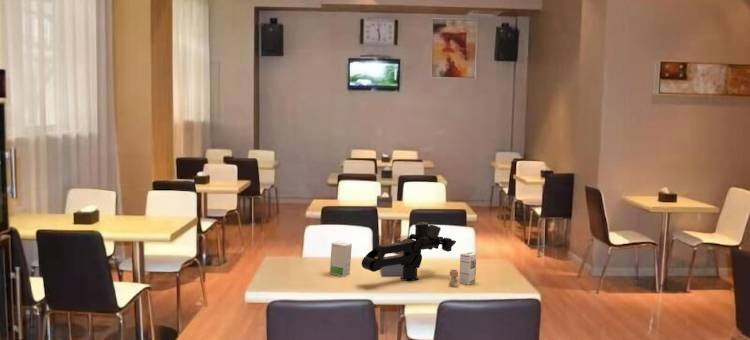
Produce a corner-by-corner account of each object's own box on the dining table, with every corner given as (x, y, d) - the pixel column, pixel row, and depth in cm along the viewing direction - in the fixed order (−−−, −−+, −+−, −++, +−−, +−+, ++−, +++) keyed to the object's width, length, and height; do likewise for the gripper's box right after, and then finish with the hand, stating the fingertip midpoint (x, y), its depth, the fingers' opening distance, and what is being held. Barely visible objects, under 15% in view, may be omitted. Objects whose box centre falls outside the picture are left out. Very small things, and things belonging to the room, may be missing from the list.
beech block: (449, 286, 325) (449, 278, 325) (449, 284, 329) (449, 275, 329) (457, 287, 325) (458, 278, 324) (457, 285, 329) (458, 276, 328)
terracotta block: (449, 279, 338) (450, 271, 338) (449, 277, 342) (450, 269, 341) (457, 280, 338) (458, 271, 337) (457, 277, 341) (458, 269, 341)
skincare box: (329, 274, 339) (330, 243, 337) (336, 271, 345) (337, 240, 343) (344, 277, 335) (345, 245, 333) (351, 274, 341) (352, 242, 339)
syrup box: (469, 285, 329) (471, 255, 328) (458, 282, 333) (460, 253, 331) (475, 282, 334) (477, 253, 332) (464, 280, 337) (466, 251, 336)
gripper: (440, 230, 332) (463, 227, 341) (414, 223, 346) (437, 220, 356) (438, 253, 333) (462, 249, 343) (413, 245, 348) (436, 242, 357)
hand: (449, 239), depth 350 cm, fingers open, 9 cm apart
